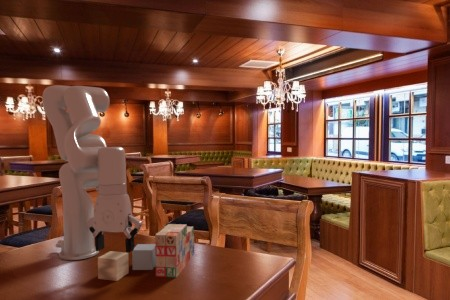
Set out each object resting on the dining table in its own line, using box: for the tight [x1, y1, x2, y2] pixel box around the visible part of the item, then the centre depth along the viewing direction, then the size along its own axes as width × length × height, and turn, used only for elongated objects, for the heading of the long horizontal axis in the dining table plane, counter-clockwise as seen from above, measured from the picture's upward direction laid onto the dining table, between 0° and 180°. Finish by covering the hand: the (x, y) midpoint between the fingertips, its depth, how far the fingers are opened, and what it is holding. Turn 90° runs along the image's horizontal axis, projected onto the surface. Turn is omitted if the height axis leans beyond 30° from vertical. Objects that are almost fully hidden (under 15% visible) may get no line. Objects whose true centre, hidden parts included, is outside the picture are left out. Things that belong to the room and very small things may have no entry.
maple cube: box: [97, 250, 130, 282], centre depth 99 cm, size 6×6×6 cm
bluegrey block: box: [131, 243, 156, 271], centre depth 106 cm, size 6×6×6 cm
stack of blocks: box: [154, 223, 195, 278], centre depth 108 cm, size 21×6×12 cm, turn 171°
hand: (114, 250), depth 98 cm, fingers open, 9 cm apart
